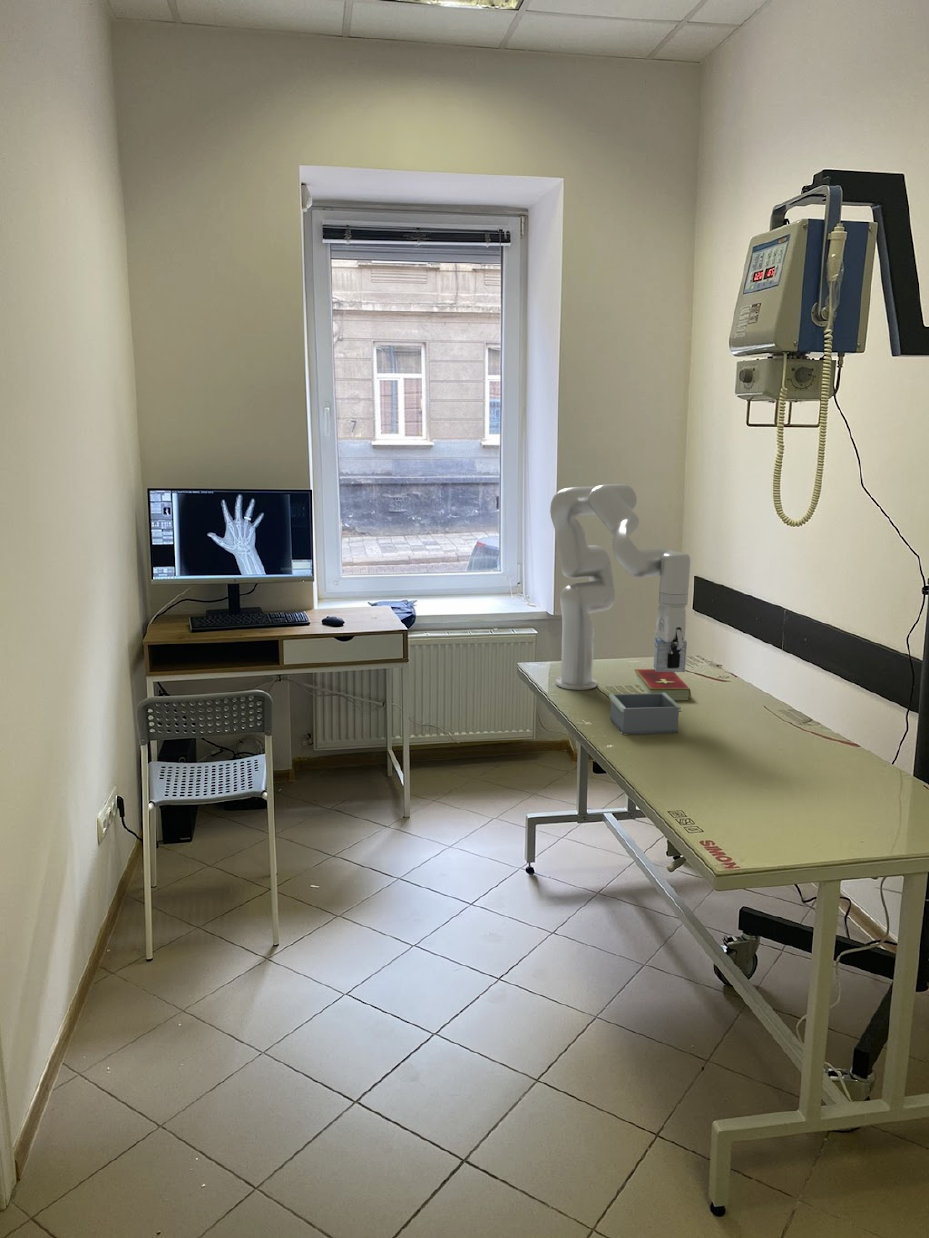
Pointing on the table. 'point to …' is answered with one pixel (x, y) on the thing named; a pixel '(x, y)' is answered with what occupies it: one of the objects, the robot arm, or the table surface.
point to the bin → (644, 713)
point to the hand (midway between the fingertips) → (669, 664)
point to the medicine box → (662, 656)
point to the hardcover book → (662, 683)
